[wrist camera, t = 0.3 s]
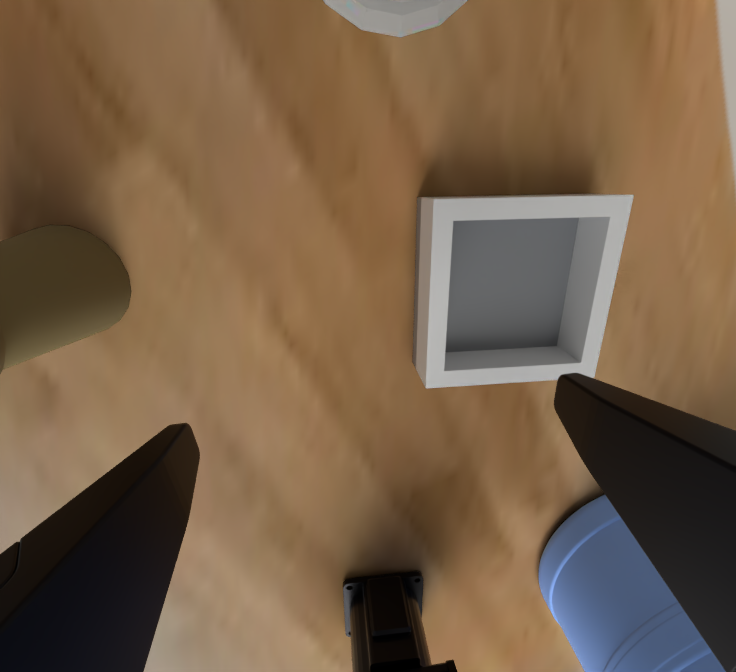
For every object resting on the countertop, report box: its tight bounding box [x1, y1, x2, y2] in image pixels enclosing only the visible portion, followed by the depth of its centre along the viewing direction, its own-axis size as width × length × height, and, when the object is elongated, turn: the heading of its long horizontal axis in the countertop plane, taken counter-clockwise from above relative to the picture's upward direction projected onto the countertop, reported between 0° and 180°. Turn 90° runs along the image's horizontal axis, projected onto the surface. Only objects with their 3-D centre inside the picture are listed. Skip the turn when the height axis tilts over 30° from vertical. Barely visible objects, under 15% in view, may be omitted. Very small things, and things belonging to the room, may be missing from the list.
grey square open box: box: [413, 193, 634, 388], centre depth 22 cm, size 10×10×4 cm
